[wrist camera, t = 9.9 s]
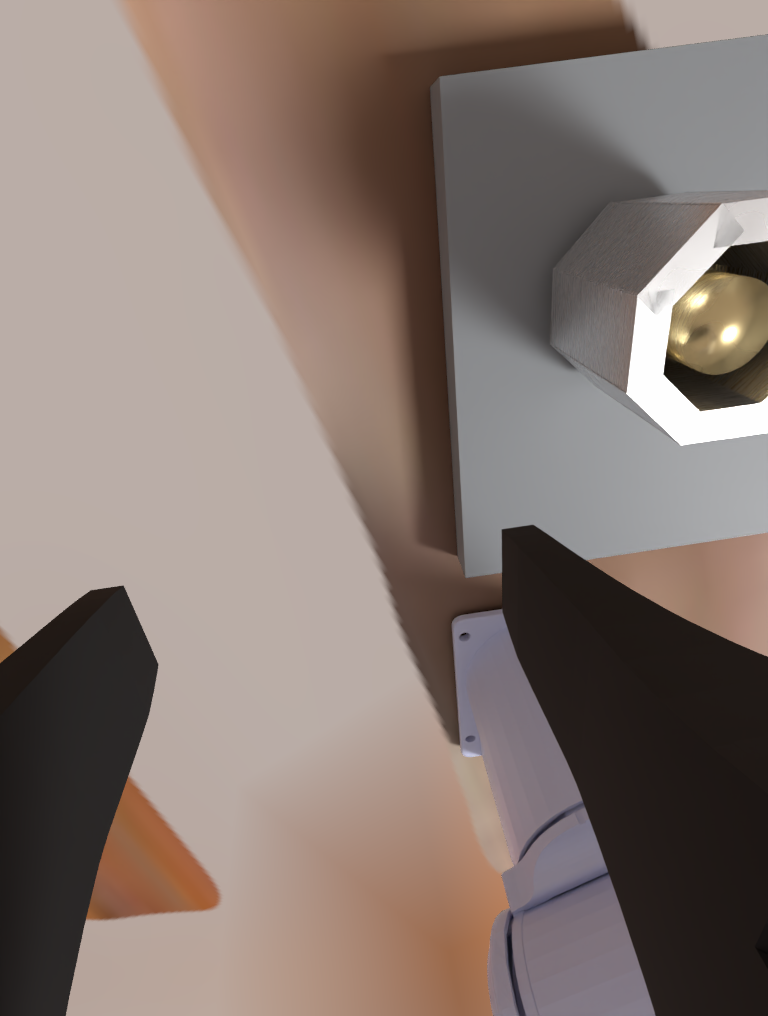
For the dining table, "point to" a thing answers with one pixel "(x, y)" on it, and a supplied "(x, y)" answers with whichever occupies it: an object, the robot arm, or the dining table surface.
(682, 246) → the steel collar
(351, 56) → the dining table surface
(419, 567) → the dining table surface
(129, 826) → the dining table surface
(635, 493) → the post board
